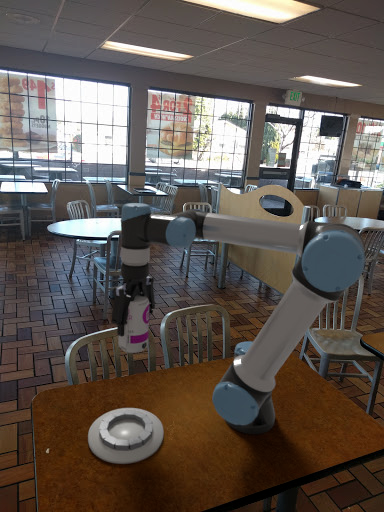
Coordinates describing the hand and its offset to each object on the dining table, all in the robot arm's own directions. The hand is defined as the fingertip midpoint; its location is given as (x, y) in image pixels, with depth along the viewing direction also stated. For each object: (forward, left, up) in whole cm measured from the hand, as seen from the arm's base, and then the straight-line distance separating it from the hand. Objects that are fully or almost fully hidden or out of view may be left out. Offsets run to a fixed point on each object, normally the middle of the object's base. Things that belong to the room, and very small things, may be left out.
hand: (133, 339), depth 110 cm
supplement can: (0, 0, -2) cm, 2 cm away
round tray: (-5, +9, -23) cm, 25 cm away
